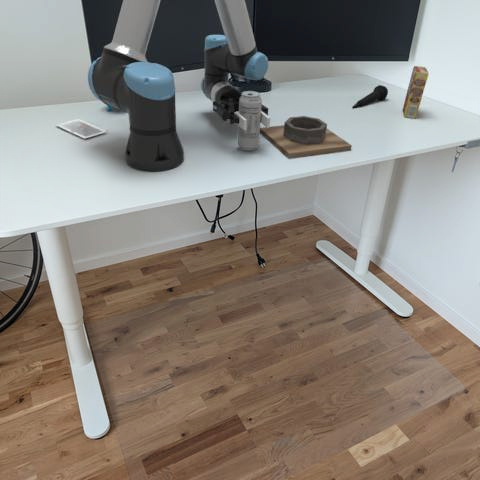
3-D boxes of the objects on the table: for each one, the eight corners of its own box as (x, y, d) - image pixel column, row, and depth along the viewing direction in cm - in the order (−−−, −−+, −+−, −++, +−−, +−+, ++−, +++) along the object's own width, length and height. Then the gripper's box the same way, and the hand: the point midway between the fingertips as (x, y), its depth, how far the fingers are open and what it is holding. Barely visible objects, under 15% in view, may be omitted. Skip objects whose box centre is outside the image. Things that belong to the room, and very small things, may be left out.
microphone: (355, 118, 165) (387, 101, 175) (361, 105, 160) (393, 88, 170) (344, 109, 167) (375, 93, 177) (349, 96, 162) (381, 80, 172)
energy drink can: (261, 145, 131) (265, 92, 122) (254, 152, 126) (258, 98, 118) (241, 141, 132) (243, 89, 124) (234, 149, 128) (236, 95, 119)
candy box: (417, 119, 157) (429, 73, 148) (404, 117, 157) (415, 71, 149) (414, 110, 164) (426, 66, 155) (402, 109, 165) (413, 65, 156)
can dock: (350, 150, 132) (354, 131, 129) (288, 158, 125) (290, 139, 122) (316, 126, 147) (318, 109, 144) (259, 132, 141) (260, 114, 137)
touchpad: (79, 122, 143) (77, 115, 142) (108, 135, 135) (107, 128, 134) (56, 128, 138) (54, 121, 137) (85, 142, 130) (84, 135, 129)
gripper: (254, 107, 143) (287, 134, 126) (196, 112, 137) (222, 141, 119) (256, 83, 139) (290, 107, 121) (196, 87, 133) (223, 112, 115)
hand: (257, 124), depth 120 cm, fingers closed on energy drink can, 6 cm apart
